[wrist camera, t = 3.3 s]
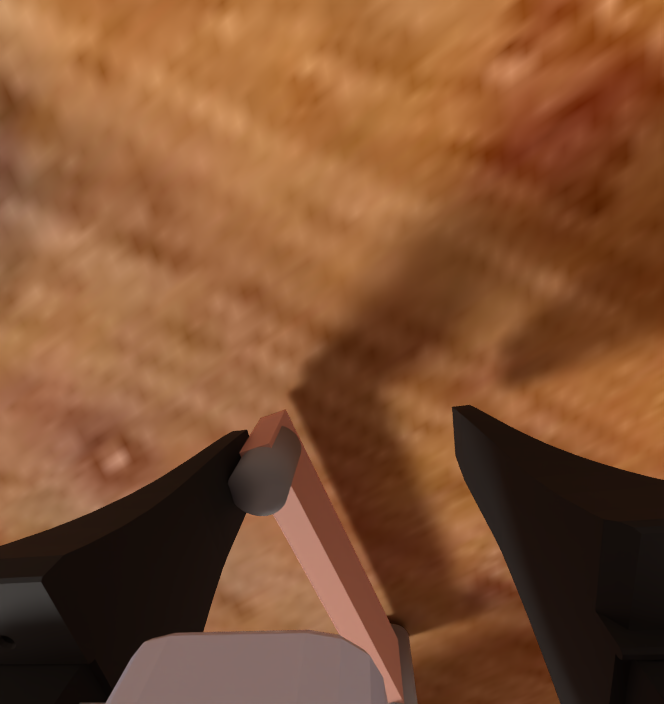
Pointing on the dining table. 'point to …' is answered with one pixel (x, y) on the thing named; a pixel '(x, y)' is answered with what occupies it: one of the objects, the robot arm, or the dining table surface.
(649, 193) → the dining table surface
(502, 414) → the dining table surface
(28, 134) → the dining table surface
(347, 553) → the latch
